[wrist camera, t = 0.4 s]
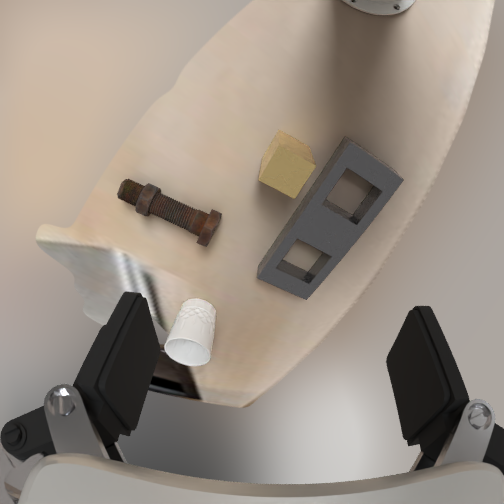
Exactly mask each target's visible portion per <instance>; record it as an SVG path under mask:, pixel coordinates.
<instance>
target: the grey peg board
mask: <svg viewBox="0 0 504 504" xmlns="http://www.w3.org/2000/svg"><path fill="white" fill-rule="evenodd" d="M346 168H348V169H350V170H351V171H353V172H354V173H356V174H358V175H359V176H361V177H362V178H364V179H365V180H367V181H368V182H370V183H371V184H373V185H374V187H373V188H372V190H371V191H370V192H369V194H368V195H367V197H366V198H365V199H364V201H363V202H362V203H361V205H360V206H359V207H358V209H357V210H356V211H355V213H354V214H353V215H352V214H350V213H348V212H347V211H345V210H343V209H341V208H340V207H338V206H336V205H335V204H333V203H331V202H330V201H328V200H326V197H327V196H328V194H329V193H330V191H331V190H332V189H333V187H334V186H335V184H336V183H337V181H338V180H339V178H340V177H341V176H342V174H343V173H344V171H345V170H346ZM403 180H404V179H403V178H402V177H401V176H400V175H399V174H398V173H397V172H396V171H395V170H393V169H392V168H391V167H389V166H388V165H386V164H385V163H384V162H382V161H381V160H379V159H378V158H377V157H375V156H374V155H372V154H371V153H369V152H368V151H367V150H365V149H364V148H362V147H361V146H359V145H358V144H356V143H355V142H353V141H352V140H350V139H349V138H347V137H344V139H343V141H342V142H341V144H340V145H339V147H338V148H337V150H336V151H335V153H334V154H333V156H332V157H331V159H330V160H329V162H328V163H327V165H326V166H325V168H324V169H323V171H322V172H321V174H320V175H319V177H318V178H317V180H316V181H315V183H314V184H313V186H312V187H311V189H310V190H309V192H308V193H307V195H306V196H305V198H304V199H303V201H302V202H301V204H300V205H299V206H298V208H297V209H296V211H295V212H294V214H293V215H292V217H291V218H290V220H289V221H288V223H287V224H286V226H285V227H284V229H283V230H282V232H281V233H280V235H279V236H278V238H277V239H276V240H275V242H274V243H273V245H272V246H271V248H270V249H269V251H268V252H267V254H266V255H265V257H264V258H263V260H262V261H261V262H260V264H259V265H258V272H257V278H258V279H260V280H263V281H265V282H267V283H269V284H272V285H274V286H276V287H278V288H281V289H283V290H285V291H287V292H290V293H292V294H294V295H296V296H299V297H301V298H303V299H305V300H307V299H308V298H309V297H310V295H311V294H312V293H313V292H314V291H315V290H316V289H317V287H318V286H319V285H320V284H321V283H322V282H323V281H324V279H325V278H326V277H327V276H328V275H329V274H330V272H331V271H332V270H333V269H334V268H335V266H336V265H337V264H338V263H339V262H340V260H341V259H342V258H343V257H344V256H345V254H346V253H347V252H348V251H349V250H350V248H351V247H352V246H353V245H354V244H355V242H356V241H357V240H358V239H359V237H360V236H361V235H362V234H363V232H364V231H365V230H366V229H367V227H368V226H369V225H370V224H371V222H372V221H373V220H374V218H375V217H376V216H377V215H378V213H379V212H380V211H381V209H382V208H383V207H384V206H385V204H386V203H387V202H388V200H389V199H390V198H391V196H392V195H393V194H394V192H395V191H396V190H397V188H398V187H399V186H400V184H401V183H402V182H403ZM296 239H299V240H301V241H303V242H305V243H307V244H309V245H311V246H313V247H315V248H317V249H319V250H321V251H322V252H324V253H323V254H322V255H321V256H320V258H319V259H318V260H317V261H316V263H315V264H314V265H313V266H312V268H311V269H310V270H309V271H308V272H307V271H305V270H303V269H301V268H299V267H297V266H294V265H292V264H290V263H288V262H286V261H284V260H282V259H283V257H284V256H285V255H286V253H287V252H288V250H289V249H290V248H291V246H292V245H293V244H294V242H295V241H296Z"/></svg>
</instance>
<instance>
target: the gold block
mask: <svg viewBox="0 0 504 504" xmlns="http://www.w3.org/2000/svg"><path fill="white" fill-rule="evenodd" d="M315 167H316V164H315V161H314V159H313V156H312V153H311V150H310V147H309V146H307V145H305V144H304V143H302V142H300V141H298V140H297V139H295V138H293V137H291V136H289V135H287V134H286V133H284V132H282V131H280V130H278V132H277V134H276V135H275V137H274V139H273V141H272V142H271V144H270V146H269V147H268V149H267V151H266V153H265V154H264V156H263V158H262V162H261V168H260V174H259V181H261V182H263V183H265V184H267V185H269V186H271V187H272V188H274V189H276V190H278V191H280V192H282V193H284V194H286V195H288V196H290V197H291V198H293V199H295V198H296V196H297V195H298V193H299V192H300V190H301V189H302V187H303V185H304V184H305V182H306V181H307V179H308V178H309V176H310V175H311V173H312V172H313V170H314V169H315Z"/></svg>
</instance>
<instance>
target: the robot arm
mask: <svg viewBox="0 0 504 504" xmlns="http://www.w3.org/2000/svg"><path fill="white" fill-rule="evenodd" d="M342 1H343V2H345V3H347V4H348V5H350V6H351V7H353V8H355V9H358V10H360V11H362V12H366V13H369V14H374V15H393V14H397V13H400V12H402V11H404V10H406V9H408V8H409V7H410V6H411V5H412V4H413V3H414V2H415V0H354V2H352V1H351V0H342ZM393 6H394V7H395V8H396V10H395V9H394V7H393ZM159 354H160V345H159V342H158V338H157V335H156V332H155V328H154V325H153V321H152V318H151V314H150V310H149V307H148V303H147V300H146V298H143V297H142V294H141V293H134V292H124V293H123V295H122V297H121V298H120V300H119V302H118V304H117V306H116V308H115V309H114V311H113V313H112V315H111V317H110V319H109V321H108V322H107V324H106V325H104V326H103V327H102V328H101V329H100V331H99V333H98V335H97V337H96V339H95V341H94V343H93V345H92V347H91V349H90V351H89V353H88V355H87V357H86V359H85V361H84V363H83V365H82V367H81V369H80V371H79V373H78V375H77V378H76V380H75V382H74V384H73V386H71V385H68V384H61V385H57V386H55V387H53V388H52V389H51V390H50V391H49V392H48V393H47V395H46V397H45V399H44V406H42V407H40V408H38V409H35V410H33V411H31V412H29V413H27V414H24V415H22V416H20V417H17V418H15V419H13V420H11V421H9V422H7V423H6V424H5V426H4V427H3V429H2V431H1V439H0V504H504V429H503V428H502V427H500V426H499V425H497V424H495V414H494V411H493V409H492V407H491V406H490V405H489V404H488V403H487V402H486V401H484V400H480V399H475V400H472V401H470V400H469V396H468V393H467V390H466V388H465V385H464V382H463V380H462V377H461V374H460V372H459V369H458V367H457V365H456V362H455V359H454V357H453V355H452V352H451V350H450V348H449V346H448V343H447V341H446V339H445V336H444V334H443V332H442V330H441V327H440V325H439V323H438V321H437V319H436V317H435V315H434V313H433V310H432V309H431V307H430V306H415V307H414V308H413V310H410V311H409V313H408V315H407V317H406V319H405V321H404V324H403V326H402V328H401V330H400V332H399V334H398V336H397V338H396V340H395V342H394V344H393V346H392V348H391V350H390V352H389V354H388V356H387V361H386V363H387V368H388V372H389V376H390V380H391V384H392V388H393V392H394V396H395V400H396V405H397V410H398V415H399V419H400V424H401V429H402V434H403V438H404V439H405V440H407V442H408V446H412V445H417V444H420V448H421V452H420V454H419V455H418V457H417V459H416V461H415V463H414V464H413V466H412V467H411V469H410V471H409V472H407V473H402V474H396V475H391V476H385V477H379V478H372V479H365V480H357V481H347V482H336V483H321V484H255V483H239V482H228V481H219V480H210V479H203V478H196V477H189V476H183V475H178V474H172V473H167V472H162V471H157V470H152V469H148V468H143V467H139V466H135V465H130V464H127V462H126V460H125V458H124V456H123V454H122V452H121V450H120V448H119V446H118V444H117V441H118V437H119V435H120V434H122V435H126V436H130V433H131V430H135V429H136V427H137V424H138V421H139V417H140V414H141V411H142V407H143V404H144V401H145V398H146V395H147V391H148V388H149V385H150V382H151V379H152V376H153V373H154V370H155V367H156V364H157V361H158V358H159Z"/></svg>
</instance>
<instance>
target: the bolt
mask: <svg viewBox="0 0 504 504" xmlns="http://www.w3.org/2000/svg"><path fill="white" fill-rule="evenodd" d="M117 195H118V198H119V199H121V200H124V201H126V202H128V203H130V204H132V205H134V206H136V212H137V213H140V214H142V215H144V216H149V215H150V214H151V213H152V214H154V215H156V216H158V217H160V218H162V219H165V220H167V221H169V222H170V221H171V223H172V222H173V224H174V223H175V225H176V224H177V226H180V227H181V226H182V228H183V227H184V229H185V228H186V230H188V231H189V232H191V233H193V234H195V235H197V236H199V238H198V241H197V243H198V244H200V245H203V246H207V245H208V243H209V241H210V239H211V237H212V235H213V233H214V230H215V228H216V226H217V224H218V222H219V219H220V217H221V215H222V214H221V213H219V212H217V211H215V210H213V209H212V210H211V212H210V214H207V213H205V212H203V211H201V210H197V209H196V210H195V209H193V208H191V207H189V206H187V205H185V204H182V203H180V202H178V201H176V200H174V199H172V198H170V197H168V196H165V195H163V194H162V195H161V193H160V188H158V187H156V186H153V185H151V184H147V185H146V186H143V185H141V184H140V185H139V183H138V184H137V182H136V183H135V182H133V181H132V180H130V179H126V180H124V181H123V182H122V183H121V186H120V188H119V191H118V193H117Z"/></svg>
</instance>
